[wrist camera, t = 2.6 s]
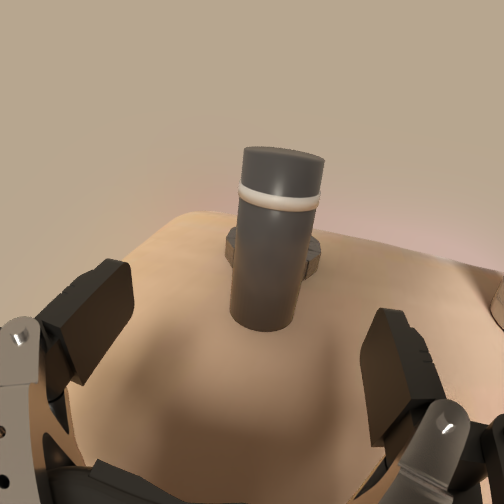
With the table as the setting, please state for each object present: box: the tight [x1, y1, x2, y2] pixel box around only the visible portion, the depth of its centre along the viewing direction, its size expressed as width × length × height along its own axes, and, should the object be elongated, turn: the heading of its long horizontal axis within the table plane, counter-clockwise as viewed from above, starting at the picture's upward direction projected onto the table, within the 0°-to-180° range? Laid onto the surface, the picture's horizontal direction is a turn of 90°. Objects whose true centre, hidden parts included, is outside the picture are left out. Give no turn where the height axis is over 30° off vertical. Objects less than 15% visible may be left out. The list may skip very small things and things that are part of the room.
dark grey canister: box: [230, 147, 325, 332], centre depth 20 cm, size 5×5×12 cm
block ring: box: [225, 226, 321, 280], centre depth 31 cm, size 9×9×2 cm
